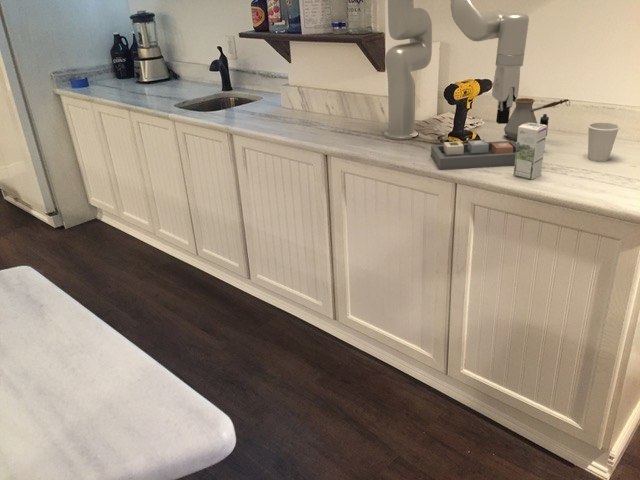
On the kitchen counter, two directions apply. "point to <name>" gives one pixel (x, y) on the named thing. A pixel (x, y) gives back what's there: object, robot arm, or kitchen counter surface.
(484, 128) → the kitchen counter surface
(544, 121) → the vaping device
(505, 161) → the keypad base
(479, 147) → the key slate
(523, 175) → the syrup box
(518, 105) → the coffee pot
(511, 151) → the key coral
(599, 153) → the dixie cup
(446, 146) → the key ivory
